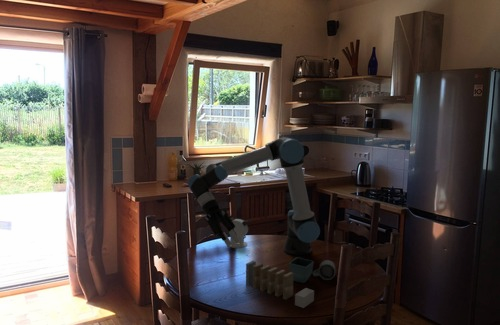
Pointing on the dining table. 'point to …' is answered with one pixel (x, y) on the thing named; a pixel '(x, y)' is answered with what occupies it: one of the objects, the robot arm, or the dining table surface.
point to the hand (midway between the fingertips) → (233, 243)
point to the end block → (304, 297)
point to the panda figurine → (240, 232)
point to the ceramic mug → (325, 270)
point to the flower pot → (301, 269)
